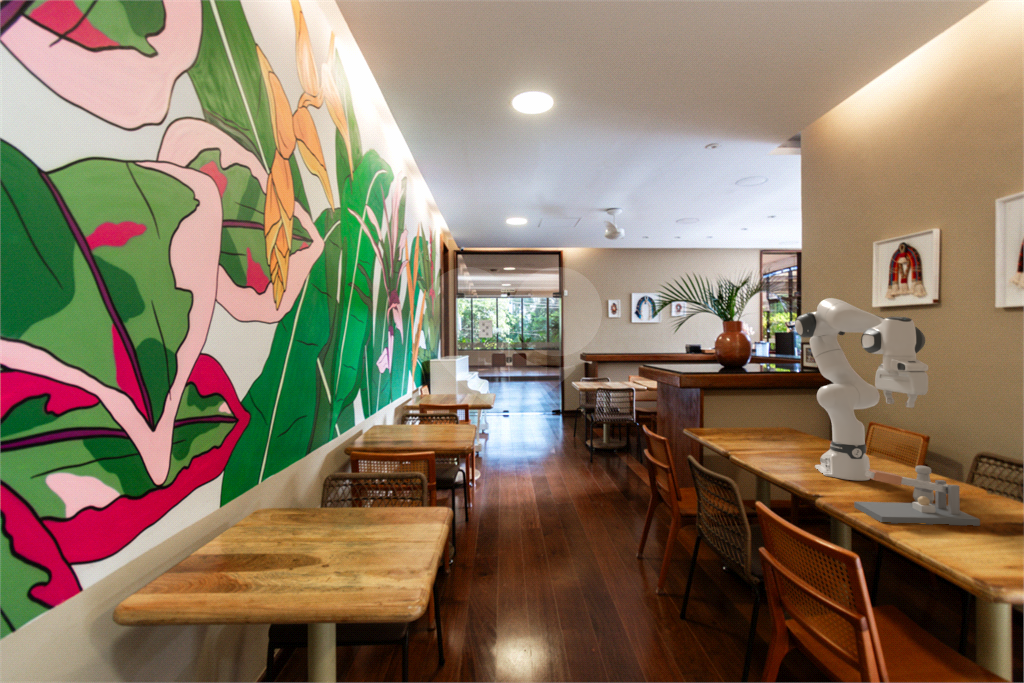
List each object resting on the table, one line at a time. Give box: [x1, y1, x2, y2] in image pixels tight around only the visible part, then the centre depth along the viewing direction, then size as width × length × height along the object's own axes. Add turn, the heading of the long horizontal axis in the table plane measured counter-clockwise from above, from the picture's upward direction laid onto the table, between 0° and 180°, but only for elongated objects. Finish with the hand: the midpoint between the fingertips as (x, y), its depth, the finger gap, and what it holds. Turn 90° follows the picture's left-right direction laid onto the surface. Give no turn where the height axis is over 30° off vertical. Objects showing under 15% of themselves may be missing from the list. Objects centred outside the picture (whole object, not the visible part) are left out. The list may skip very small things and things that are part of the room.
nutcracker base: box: [853, 479, 981, 527], centre depth 154 cm, size 28×14×11 cm, turn 84°
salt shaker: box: [912, 465, 935, 504], centre depth 166 cm, size 6×6×13 cm
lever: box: [865, 468, 949, 495], centre depth 154 cm, size 26×4×4 cm, turn 84°
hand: (899, 405), depth 160 cm, fingers open, 8 cm apart
